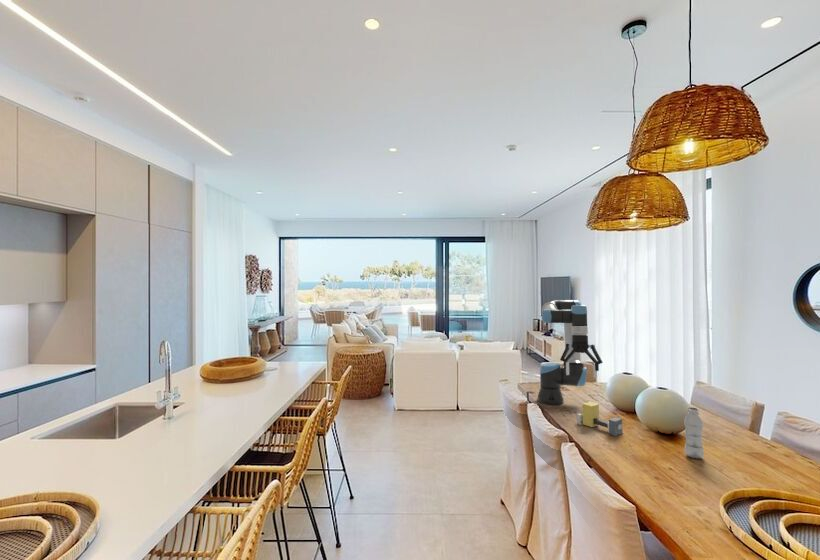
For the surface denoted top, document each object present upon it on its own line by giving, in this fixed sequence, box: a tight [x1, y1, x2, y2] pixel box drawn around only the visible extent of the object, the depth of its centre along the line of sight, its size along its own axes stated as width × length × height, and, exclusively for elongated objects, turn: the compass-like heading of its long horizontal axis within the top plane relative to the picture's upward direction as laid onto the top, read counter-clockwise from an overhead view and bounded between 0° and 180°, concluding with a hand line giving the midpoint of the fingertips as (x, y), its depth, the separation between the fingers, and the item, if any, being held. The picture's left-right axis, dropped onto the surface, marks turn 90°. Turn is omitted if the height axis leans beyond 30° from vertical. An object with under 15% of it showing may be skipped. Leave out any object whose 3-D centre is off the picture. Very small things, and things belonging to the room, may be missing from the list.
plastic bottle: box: [683, 407, 705, 459], centre depth 158 cm, size 6×7×20 cm
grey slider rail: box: [576, 413, 623, 437], centre depth 190 cm, size 7×21×7 cm, turn 31°
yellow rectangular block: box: [582, 401, 600, 428], centre depth 194 cm, size 6×5×10 cm
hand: (581, 376), depth 196 cm, fingers open, 13 cm apart
